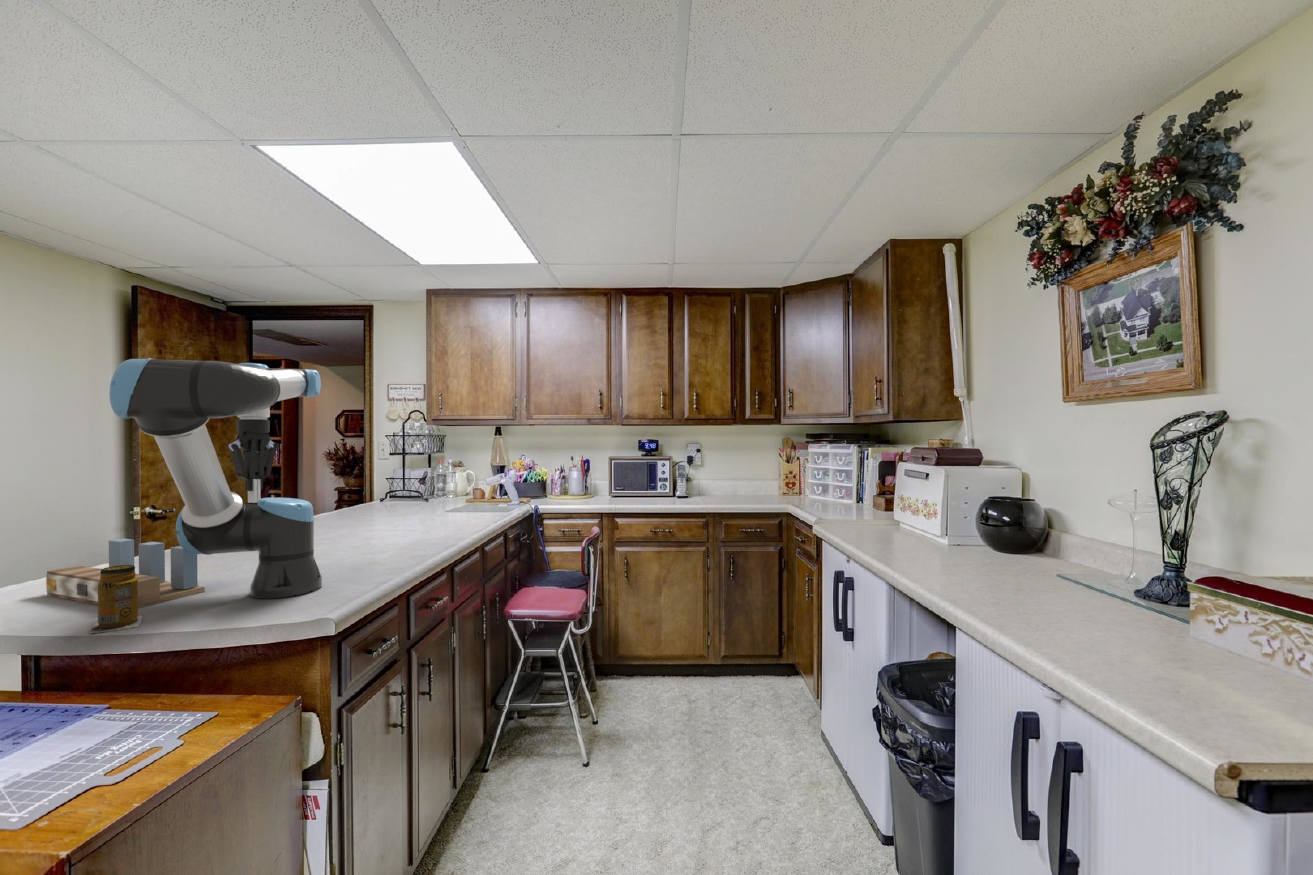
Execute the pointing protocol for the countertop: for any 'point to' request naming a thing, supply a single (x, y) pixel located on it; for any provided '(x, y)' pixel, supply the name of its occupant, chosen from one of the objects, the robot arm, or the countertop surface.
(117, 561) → the key
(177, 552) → the key
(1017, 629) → the countertop surface
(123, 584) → the condiment
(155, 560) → the key middle
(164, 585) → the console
